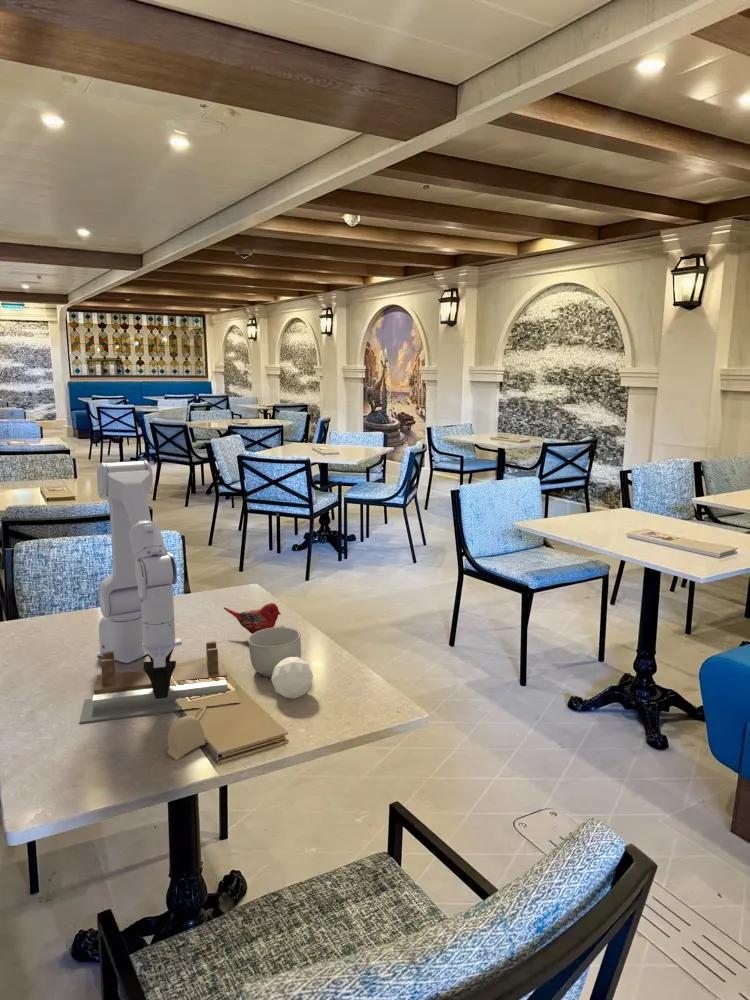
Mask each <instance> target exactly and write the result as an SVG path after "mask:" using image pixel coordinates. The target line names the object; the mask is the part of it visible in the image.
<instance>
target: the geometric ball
mask: <svg viewBox="0 0 750 1000" xmlns="http://www.w3.org/2000/svg"><path fill="white" fill-rule="evenodd" d="M313 677H314V674H313V672H312V669H311V666H310V664H309V663H308V662H307V661H306V660H304V659H302V658H301V659H300V658H299V657H288V658H285V659H283V660H282V661H281V662H279V663H278V664H277V665H276V666H275V668H274V671H273V675H272V677H271V683H272V685H273V688H274V689H275V690H274V691H275V692H276V693H278V694H279V695H281V696H282V697H284V698H287V699H297V698H300V697H301V696H303V695H305V694H306V693H307V692H308V690H310V688H311V686H312V683H313Z"/></svg>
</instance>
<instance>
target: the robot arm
mask: <svg viewBox="0 0 750 1000" xmlns="http://www.w3.org/2000/svg"><path fill="white" fill-rule="evenodd" d="M153 475H154V474H153V469H152V466H151V464H150V463H149V461H148V460H141V461H140V460H139V461H123V462H122V461H121V462H107V463H106V462H100V463H99V465H98V466H97V470H96V481H97V483H96V484H97V493H98V496H99V497H98V498H100V499H102V500H105V501H107V502H108V506H109V518H110V519H109V520H110V538H111V541H110V542H111V556H112V557H111V558H112V572H111V574H110V573H109V574H108V576H107V577H105V578H104V579H103V580H101V581H100V585H99V597H98V598H99V608H100V612H101V615H102V617H101V619H100V621H99V624H98V638H99V639H98V640H99V652H97V654H96V655H97V656H99V657H102V658H103V652H113V651H114V661H116V662H121V663H124V664H129V663H132V662H134V661H137V660H138V659H140V658H142V657H144V656H145V657H146V656H147V655H148V657H149V661H145V662H144V661H143V665H142V666H143V667H142V668H143V670H145V672H146V673H147V675H148V677H149V679H150V681H151V684H152V688H153V692H154V695H155V698H156V699H159V698H167V697H168V693H169V686H170V679H171V676H172V673H173V671H174V669H175V667H177V660H171V657H172V655H173V651H174V649H175V647H177V646H181V645H183V642H182V641H183V640H182V638H180V637H177V638H176V632H175V631H176V629H175V627H176V626H175V604H174V585H176V583H177V582H178V581H177V579H178V570H177V569H178V568H177V565H176V564H177V563H176V560H175V557H174V554H172V553H171V551H170V549H169V548H166V545H165V541H164V538H163V535H162V534H163V533H162V532H161V529H160V526H159V524H157V523H156V522H153V521H152V518H151V513H150V508H149V507H150V506H149V501H148V498H147V497H148V495H150V494H151V488H152V487H153V482H154V481H153V480H154V479H153V477H154V476H153Z"/></svg>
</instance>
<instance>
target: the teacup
mask: <svg viewBox="0 0 750 1000" xmlns="http://www.w3.org/2000/svg"><path fill="white" fill-rule="evenodd" d="M301 637H302V636H301V631H300V630H298V629H295V628H293V627H286V626H285V627H284V625H283V624H277V625H276V626H274V627H273V628H267V629H262V630H260V631H257V632H255V633H253V634H251V635H249V636H248V638H247V642H248V647H249V655H250V656H249V657H250V663H251V665H252V668H253V669H254V670H255V672H257V673H260V675H262V676H264V677H267V678H272V675H273V671H274V668H275V666H276V665H277V664H278V663H279V662H281V661H282V660H283V659H285V658H288V657H299V658H300V659H302V642H301Z"/></svg>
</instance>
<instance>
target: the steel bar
mask: <svg viewBox="0 0 750 1000" xmlns="http://www.w3.org/2000/svg"><path fill="white" fill-rule="evenodd" d="M227 683H228V682H227V680H218V681H210V682H201V683H193V684H184V685H176V686H169V693H168V697H167V698H159V699H156V698H155V695H154V692H153V688H150V689H142V690H133V691H125V692H116V693H108V694H99V695H94V694H93V696H92V699H93V700H92V701H93V712H95V711H103V710H111V709H119V708H127V707H135V706H143V705H152V704H160V703H168V702H174V701H175V700H176V699H178V698H185V697H192V696H203V695H209V694H218V693H226V692H227Z"/></svg>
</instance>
